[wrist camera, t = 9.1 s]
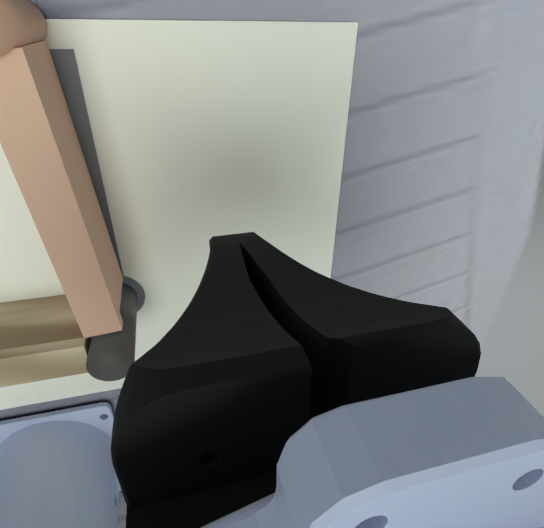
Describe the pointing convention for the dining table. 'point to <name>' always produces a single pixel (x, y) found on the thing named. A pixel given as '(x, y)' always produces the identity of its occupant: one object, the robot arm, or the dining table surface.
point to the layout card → (189, 157)
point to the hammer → (62, 341)
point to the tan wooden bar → (55, 171)
